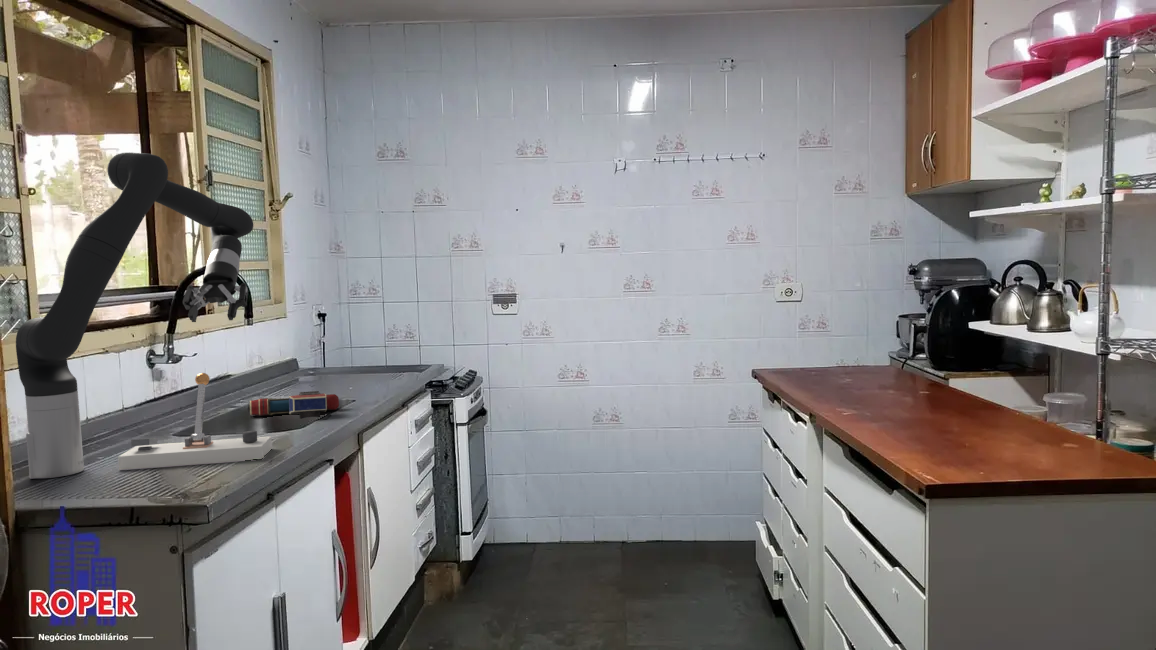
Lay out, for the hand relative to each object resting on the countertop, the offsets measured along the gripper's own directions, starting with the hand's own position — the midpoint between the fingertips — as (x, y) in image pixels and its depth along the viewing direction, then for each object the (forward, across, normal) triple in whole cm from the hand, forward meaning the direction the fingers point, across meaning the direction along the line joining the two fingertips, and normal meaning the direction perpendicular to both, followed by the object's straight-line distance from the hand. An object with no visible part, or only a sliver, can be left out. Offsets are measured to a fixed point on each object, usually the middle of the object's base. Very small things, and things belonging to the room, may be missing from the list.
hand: (211, 319), depth 187 cm
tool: (-2, +10, +47) cm, 48 cm away
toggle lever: (+29, 0, +7) cm, 30 cm away
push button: (+30, +11, +8) cm, 33 cm away
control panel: (+32, 0, +10) cm, 34 cm away
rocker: (+29, -11, +6) cm, 32 cm away
